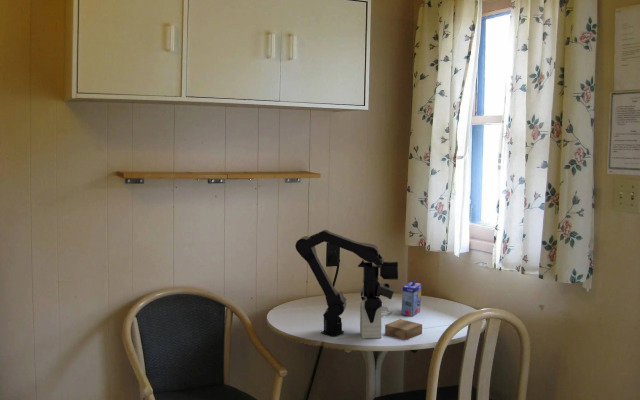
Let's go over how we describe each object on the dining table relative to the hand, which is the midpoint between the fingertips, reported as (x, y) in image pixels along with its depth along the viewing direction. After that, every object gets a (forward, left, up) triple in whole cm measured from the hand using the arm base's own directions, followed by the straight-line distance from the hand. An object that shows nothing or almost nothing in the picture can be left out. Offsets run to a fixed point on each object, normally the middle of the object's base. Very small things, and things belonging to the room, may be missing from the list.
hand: (370, 319), depth 233 cm
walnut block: (+8, +10, -6) cm, 14 cm away
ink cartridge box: (-6, +35, -6) cm, 36 cm away
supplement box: (0, 0, -6) cm, 6 cm away
